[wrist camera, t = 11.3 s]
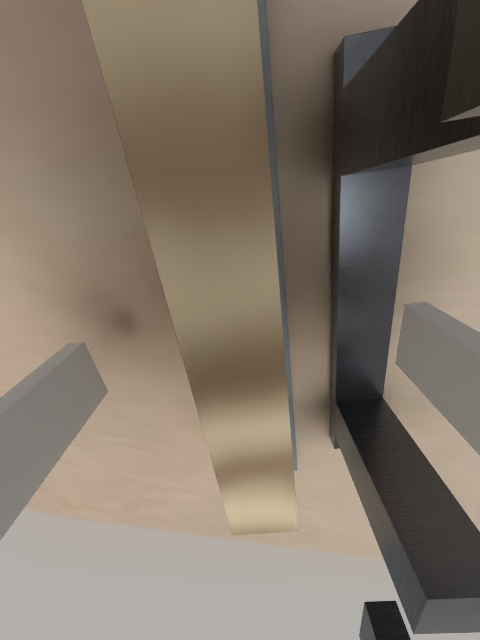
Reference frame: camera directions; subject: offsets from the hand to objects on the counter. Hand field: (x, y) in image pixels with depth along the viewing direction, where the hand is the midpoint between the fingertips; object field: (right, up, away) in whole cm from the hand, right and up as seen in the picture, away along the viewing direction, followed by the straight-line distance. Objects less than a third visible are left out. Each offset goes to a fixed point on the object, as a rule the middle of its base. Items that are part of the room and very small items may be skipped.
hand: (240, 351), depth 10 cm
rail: (0, +1, +4) cm, 4 cm away
